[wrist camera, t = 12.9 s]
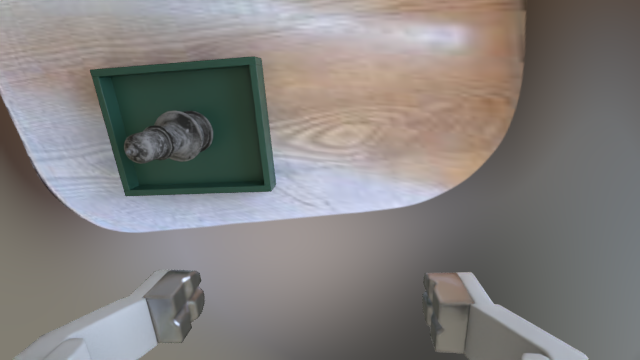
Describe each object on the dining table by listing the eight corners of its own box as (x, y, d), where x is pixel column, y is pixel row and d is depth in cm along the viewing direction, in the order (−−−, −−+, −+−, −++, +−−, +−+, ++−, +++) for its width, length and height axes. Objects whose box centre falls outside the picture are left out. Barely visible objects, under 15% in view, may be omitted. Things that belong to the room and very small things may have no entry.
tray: (107, 70, 37) (89, 69, 34) (261, 58, 35) (254, 56, 32) (138, 189, 41) (125, 196, 39) (276, 184, 39) (271, 191, 37)
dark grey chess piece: (173, 154, 39) (101, 183, 27) (167, 107, 37) (86, 118, 25) (217, 155, 38) (162, 185, 27) (213, 108, 36) (151, 119, 25)
